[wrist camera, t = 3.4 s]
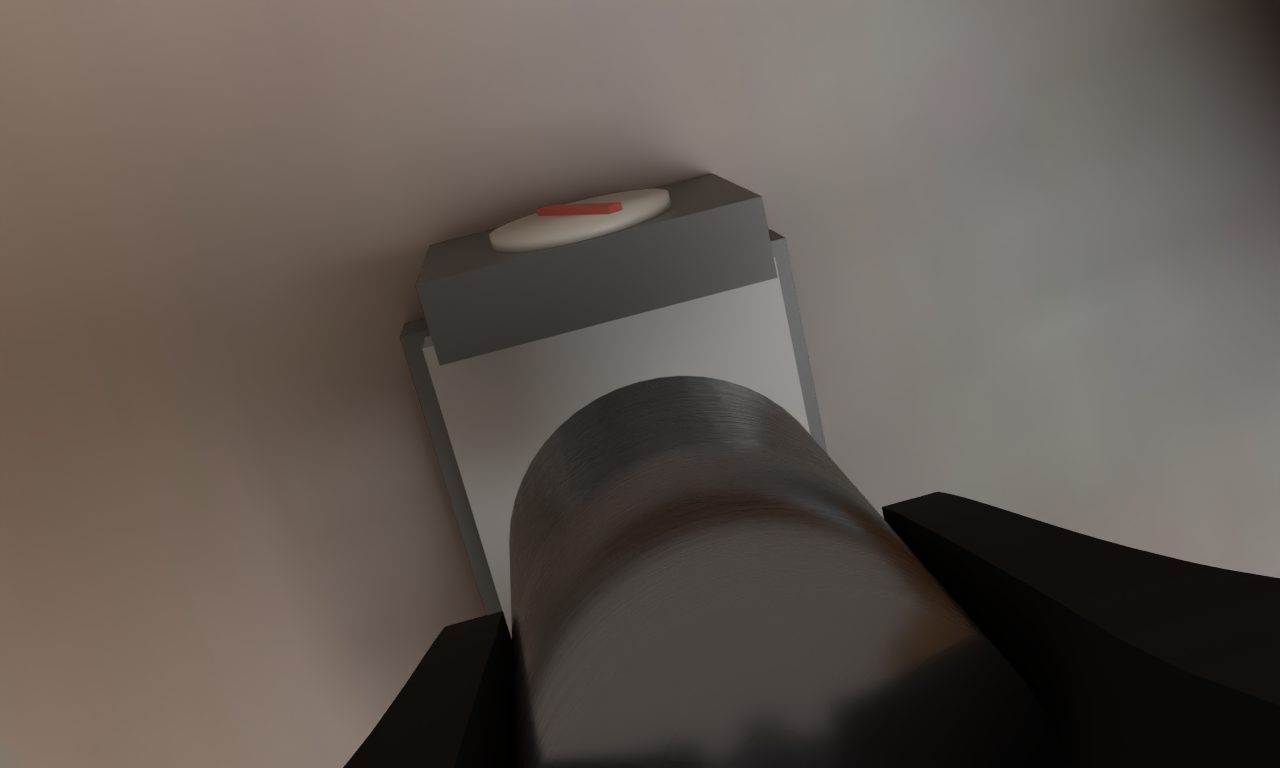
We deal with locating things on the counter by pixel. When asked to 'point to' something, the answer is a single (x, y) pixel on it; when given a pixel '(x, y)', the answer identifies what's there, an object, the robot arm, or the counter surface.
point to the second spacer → (736, 605)
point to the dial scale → (592, 333)
